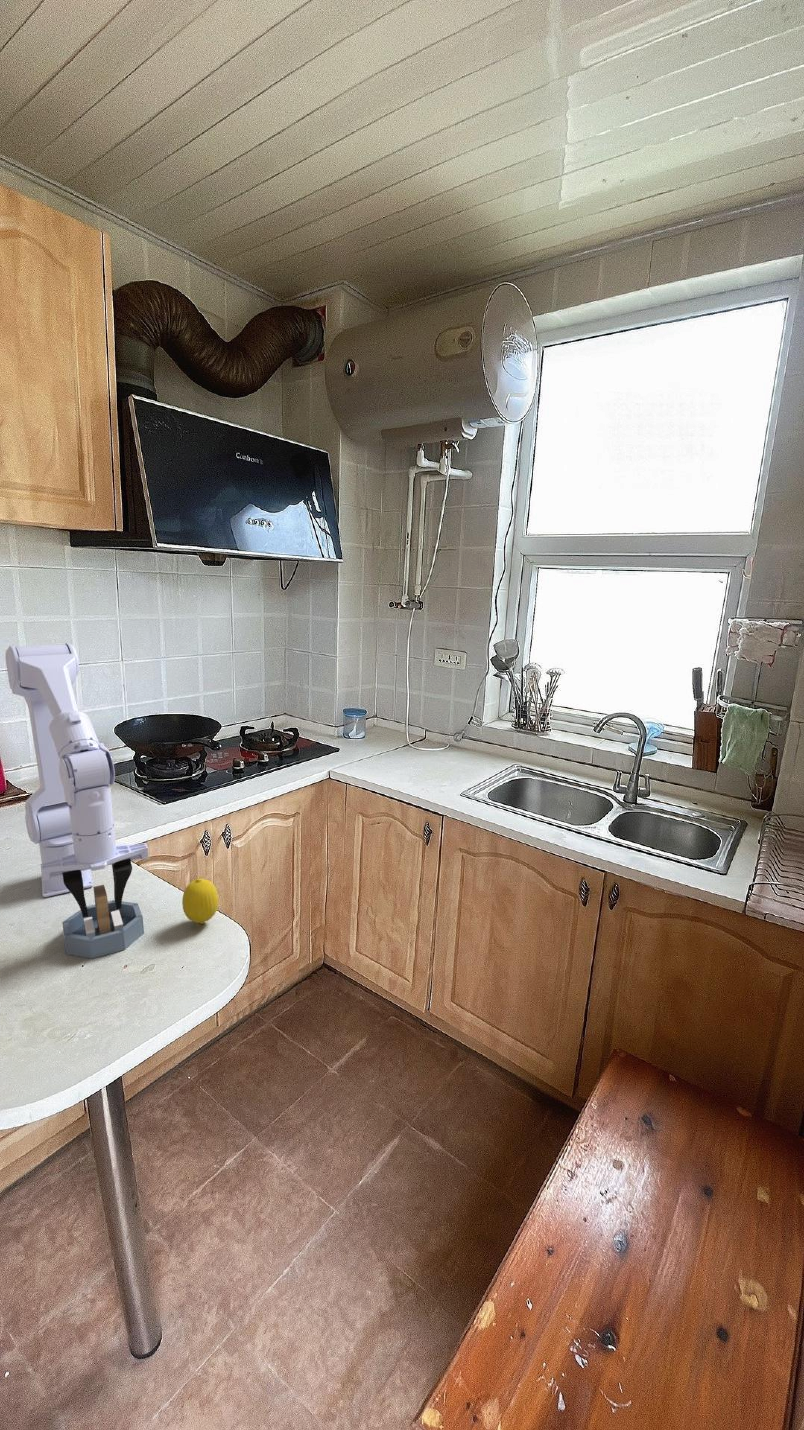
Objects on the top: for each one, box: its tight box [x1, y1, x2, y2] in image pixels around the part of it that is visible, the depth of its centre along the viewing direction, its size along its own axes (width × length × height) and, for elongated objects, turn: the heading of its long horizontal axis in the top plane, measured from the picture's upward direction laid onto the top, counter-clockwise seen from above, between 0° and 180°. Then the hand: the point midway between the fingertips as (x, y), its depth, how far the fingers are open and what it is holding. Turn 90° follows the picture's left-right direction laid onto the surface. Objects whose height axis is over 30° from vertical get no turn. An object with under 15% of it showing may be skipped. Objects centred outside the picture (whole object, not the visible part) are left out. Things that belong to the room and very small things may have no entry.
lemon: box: [181, 877, 219, 925], centre depth 98 cm, size 6×6×8 cm
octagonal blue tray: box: [61, 899, 145, 960], centre depth 94 cm, size 11×11×3 cm
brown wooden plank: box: [92, 884, 111, 935], centre depth 94 cm, size 4×2×7 cm, turn 32°
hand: (101, 909), depth 94 cm, fingers open, 4 cm apart
